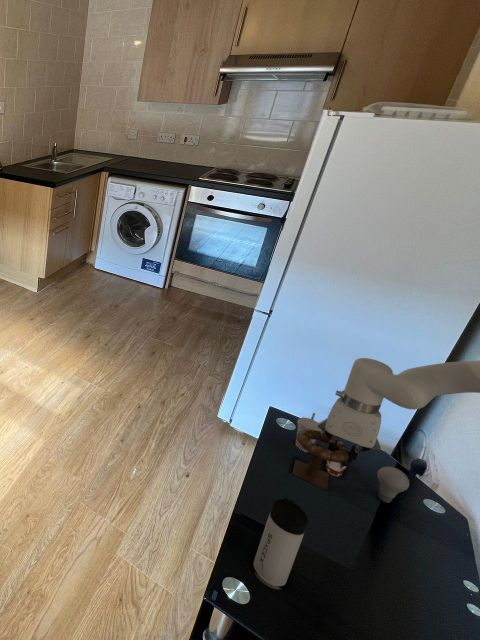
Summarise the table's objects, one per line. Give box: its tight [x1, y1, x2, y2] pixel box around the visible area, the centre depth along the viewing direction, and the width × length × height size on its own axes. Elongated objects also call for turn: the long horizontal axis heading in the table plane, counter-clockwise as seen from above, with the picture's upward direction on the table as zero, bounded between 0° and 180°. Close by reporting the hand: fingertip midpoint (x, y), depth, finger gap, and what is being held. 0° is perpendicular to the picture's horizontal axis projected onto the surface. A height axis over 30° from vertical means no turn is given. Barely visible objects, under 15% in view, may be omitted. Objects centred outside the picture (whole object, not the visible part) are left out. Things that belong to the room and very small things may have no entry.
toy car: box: [324, 460, 348, 478], centre depth 124 cm, size 5×8×3 cm, turn 134°
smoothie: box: [295, 412, 323, 453], centre depth 130 cm, size 6×6×14 cm
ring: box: [296, 429, 350, 463], centre depth 118 cm, size 12×12×3 cm
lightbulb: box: [377, 466, 410, 504], centre depth 112 cm, size 6×6×11 cm
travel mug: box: [253, 497, 309, 591], centre depth 91 cm, size 6×7×20 cm
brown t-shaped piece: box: [291, 443, 330, 491], centre depth 120 cm, size 8×8×11 cm
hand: (340, 456), depth 115 cm, fingers closed on ring, 3 cm apart
